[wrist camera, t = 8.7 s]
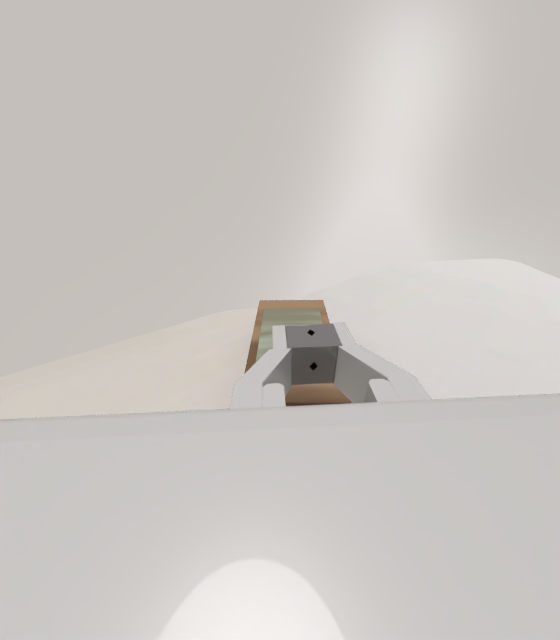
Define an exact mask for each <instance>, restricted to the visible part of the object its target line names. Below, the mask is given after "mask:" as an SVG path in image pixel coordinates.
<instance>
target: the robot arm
mask: <svg viewBox="0 0 560 640" xmlns="http://www.w3.org/2000/svg"><path fill="white" fill-rule="evenodd" d="M272 339H273V349H269V350H268V351H267V352H266V353H265V354H264V355H263V356H262V357H261V358H260V359H259V360H258V361H257V362H256V363H255V364H254V365H253V366H252V367H251V368H250V369H249V370H248V371H247V372H246V373H245V374H244V375H243V376H242V377H241V378H240V379H239V380H238V381H237V382H236V383H235V384H234V388H233V394H232V400H231V406H230V409H218V410H197V411H175V412H153V413H132V414H110V415H89V416H67V417H46V418H24V419H2V420H0V640H560V394H538V395H517V396H496V397H476V398H454V399H431V398H430V397H429V395H428V394H427V392H426V391H425V390H424V388H423V387H422V385H421V384H420V383H419V381H418V380H417V378H416V377H415V376H413V375H412V374H410V373H408V372H406V371H405V370H403V369H401V368H399V367H397V366H396V365H394V364H392V363H390V362H389V361H387V360H385V359H383V358H382V357H380V356H378V355H376V354H375V353H373V352H371V351H369V350H368V349H366V348H364V347H362V346H361V345H359V346H357V345H356V343H355V341H354V339H353V337H352V335H351V333H350V332H349V330H348V328H347V326H346V324H345V323H333V324H318V325H285V326H284V325H276V326H272ZM326 383H334V385H335V386H336V387H337V388H338V389H339V390H340V391H341V392H342V393H343V394H344V395H345V396H346V397H347V398H348V399H349V400H350V401H351V402H352V403H347V404H326V405H305V406H286V404H285V396H286V395H287V393H288V391H289V390H290V388H291V385H302V384H326Z"/></svg>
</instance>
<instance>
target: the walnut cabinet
mask: <svg viewBox="0 0 560 640" xmlns="http://www.w3.org/2000/svg"><path fill="white" fill-rule="evenodd" d="M318 324H330V323H329V319H328V316H327V313H326V309H325V306H324V302H323V300H279V301H278V300H275V301H274V300H272V301H271V300H270V301H260V302H259V307H258V311H257V316H256V321H255V326H254V331H253V335H252V340H251V345H250V350H249V354H248V359H247V364H246V369H245V373H246V372H247V371H248V370H249V369H250V368H251V367H252V366H253V365H254V364H255V363H256V362H257V361H258V360H259V359H260V358H261V357H262V356H263V355H264V354H265V353H266V352H267V351H268V350H269V349H273V339H272V326H276V325H284V326H285V325H318ZM347 403H352V402H351V401H350V400H349V399H348V398H347V397H346V396H345V395H344V394H343V393H342V392H341V391H340V390H339V389H338V388H337V387H336V386H335V385H334V383H326V384H302V385H291V388H290V390H289V391H288V393H287V395H286V396H285V404H286V406H305V405H326V404H347Z"/></svg>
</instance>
